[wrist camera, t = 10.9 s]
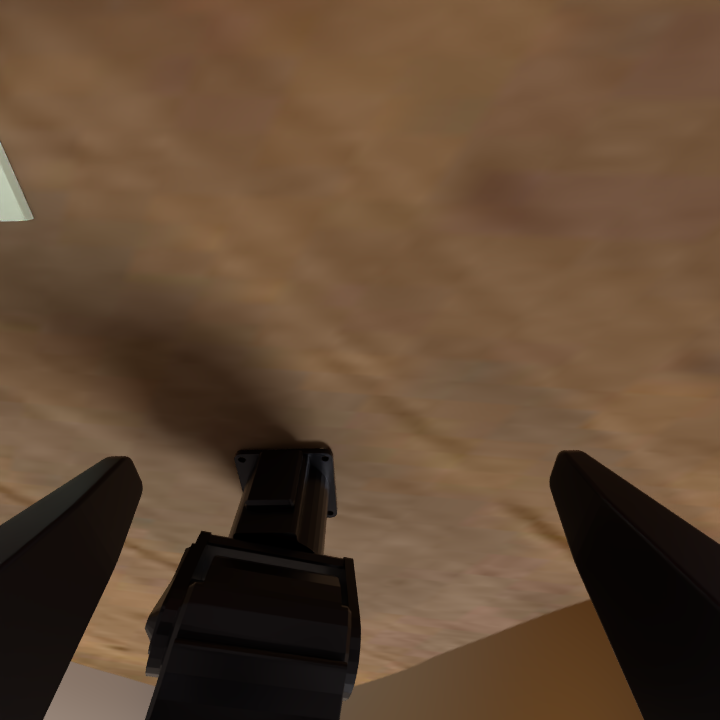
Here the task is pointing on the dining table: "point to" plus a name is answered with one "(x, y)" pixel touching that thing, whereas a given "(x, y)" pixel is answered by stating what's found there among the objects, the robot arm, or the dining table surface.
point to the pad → (11, 194)
